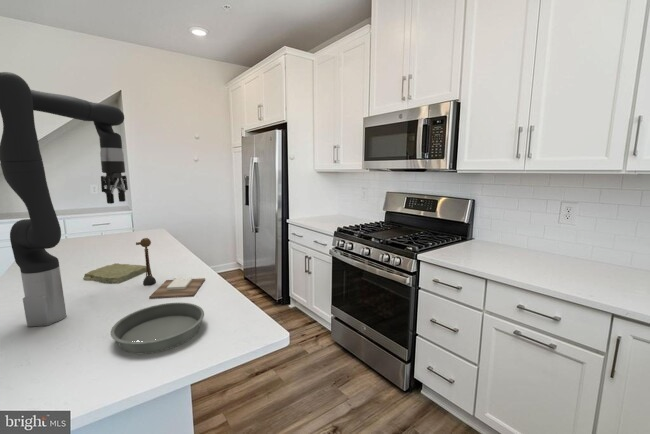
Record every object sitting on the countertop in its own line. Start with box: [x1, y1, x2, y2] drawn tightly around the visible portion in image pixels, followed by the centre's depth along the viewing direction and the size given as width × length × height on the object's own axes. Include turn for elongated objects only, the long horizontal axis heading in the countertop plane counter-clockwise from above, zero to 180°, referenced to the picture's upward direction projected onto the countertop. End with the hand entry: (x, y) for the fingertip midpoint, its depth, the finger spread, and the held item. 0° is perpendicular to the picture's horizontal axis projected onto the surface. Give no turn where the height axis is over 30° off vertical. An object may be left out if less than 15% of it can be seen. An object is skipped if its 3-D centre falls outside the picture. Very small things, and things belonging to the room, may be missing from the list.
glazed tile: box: [167, 277, 193, 290], centre depth 131 cm, size 1×7×10 cm
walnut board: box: [148, 277, 206, 300], centre depth 129 cm, size 18×16×1 cm
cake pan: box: [110, 302, 205, 354], centre depth 95 cm, size 25×25×4 cm
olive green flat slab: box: [82, 262, 146, 285], centre depth 146 cm, size 19×20×4 cm
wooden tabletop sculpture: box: [135, 237, 157, 287], centre depth 133 cm, size 6×5×20 cm
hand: (116, 202), depth 124 cm, fingers open, 8 cm apart
